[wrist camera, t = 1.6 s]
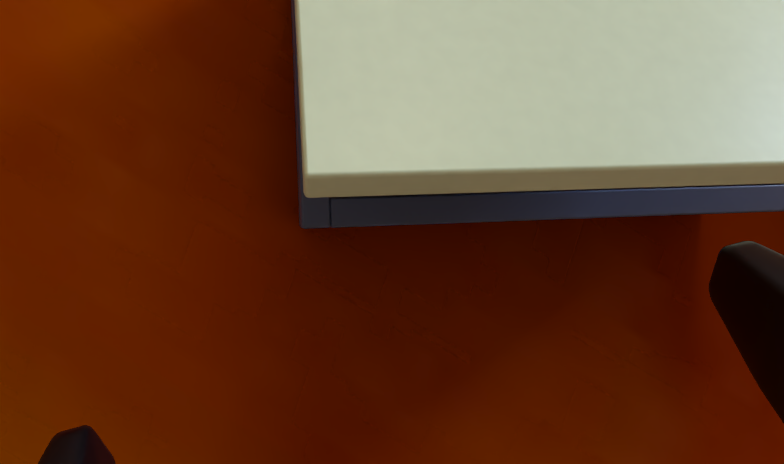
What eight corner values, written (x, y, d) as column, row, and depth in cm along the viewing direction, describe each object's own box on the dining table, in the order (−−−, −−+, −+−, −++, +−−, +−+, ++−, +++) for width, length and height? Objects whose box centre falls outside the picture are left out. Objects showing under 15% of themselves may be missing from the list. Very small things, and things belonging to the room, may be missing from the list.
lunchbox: (702, 212, 24) (834, 209, 18) (299, 227, 22) (301, 228, 16) (695, -46, 24) (825, -134, 18) (288, -54, 22) (287, -155, 16)
